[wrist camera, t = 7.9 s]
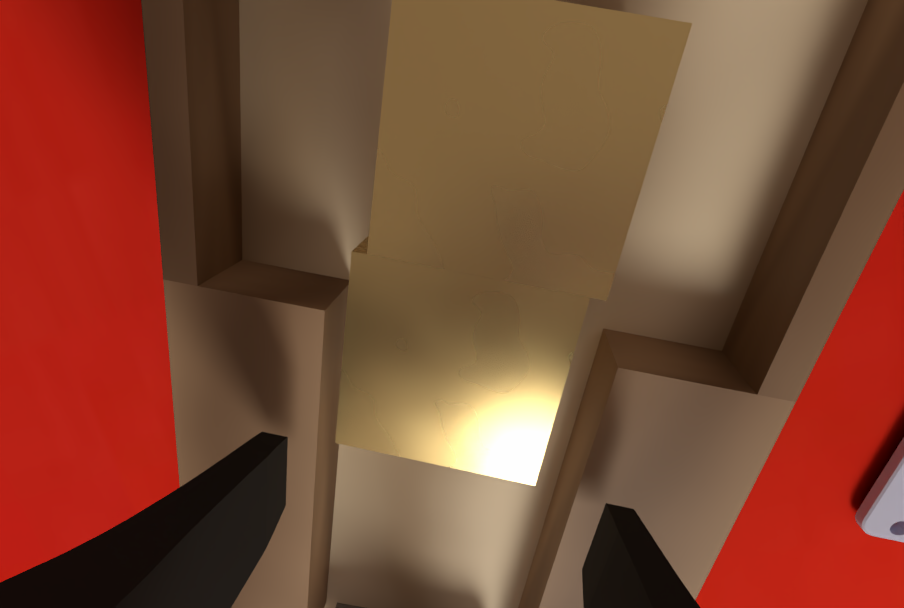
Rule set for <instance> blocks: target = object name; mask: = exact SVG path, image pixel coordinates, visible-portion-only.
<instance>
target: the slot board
mask: <svg viewBox="0 0 904 608" xmlns="http://www.w3.org/2000/svg"><path fill="white" fill-rule="evenodd" d="M556 1H562V2H568V3H574V4H580V5H586V6H592V7H598V8H604V9H610V10H616V11H622V12H628V13H634V14H640V15H646V16H652V17H658V18H664V19H670V20H676V21H682V22H688V23H692V26H691V30H690V33H689V36H688V39H687V42H686V46H685V49H684V52H683V55H682V59H681V62H680V65H679V68H678V72H677V75H676V78H675V81H674V85H673V88H672V91H671V94H670V97H669V101H668V104H667V107H666V110H665V114H664V117H663V120H662V123H661V127H660V130H659V133H658V136H657V140H656V143H655V146H654V149H653V152H652V156H651V159H650V162H649V165H648V169H647V172H646V175H645V178H644V182H643V185H642V188H641V191H640V194H639V198H638V201H637V204H636V207H635V211H634V214H633V217H632V220H631V224H630V227H629V230H628V233H627V237H626V240H625V243H624V246H623V249H622V253H621V256H620V259H619V262H618V266H617V269H616V272H615V275H614V279H613V282H612V285H611V288H610V292H609V295H608V298H607V301H605V300H600V299H595V298H590V301H589V304H588V307H587V311H586V314H585V318H584V321H583V324H582V328H581V331H580V335H579V338H578V341H577V345H576V348H575V352H574V355H573V358H572V362H571V365H570V369H569V372H568V375H567V379H566V382H565V386H564V389H563V392H562V396H561V399H560V403H559V406H558V409H557V413H556V416H555V420H554V423H553V426H552V430H551V433H550V437H549V440H548V443H547V447H546V450H545V454H544V457H543V460H542V464H541V467H540V471H539V474H538V477H537V481H536V484H535V486H534V485H529V484H525V483H520V482H515V481H511V480H506V479H501V478H496V477H492V476H487V475H482V474H478V473H473V472H468V471H464V470H459V469H454V468H450V467H445V466H440V465H436V464H431V463H426V462H422V461H417V460H412V459H408V458H403V457H398V456H394V455H389V454H384V453H379V452H375V451H370V450H365V449H361V448H356V447H351V446H347V445H342V444H337V443H335V439H336V427H337V415H338V404H339V392H340V380H341V368H342V357H343V345H344V333H345V321H346V310H347V298H348V286H349V275H350V263H351V251H352V250H354V249H355V248H356V247H357V246H358V245H359V244H360V243H361V242H362V241H363V240H364V239H365V238H367V237H368V236H369V229H370V219H371V208H372V198H373V188H374V178H375V168H376V158H377V148H378V137H379V127H380V117H381V107H382V97H383V87H384V77H385V66H386V56H387V46H388V36H389V26H390V16H391V5H392V0H141V3H142V15H143V28H144V41H145V53H146V66H147V79H148V91H149V104H150V116H151V129H152V142H153V154H154V167H155V180H156V192H157V205H158V217H159V230H160V243H161V255H162V268H163V281H164V293H165V306H166V318H167V331H168V344H169V356H170V369H171V381H172V394H173V407H174V419H175V432H176V445H177V457H178V470H179V482H180V487H181V486H183V485H184V484H186V483H187V482H189V481H190V480H192V479H193V478H195V477H196V476H198V475H199V474H201V473H202V472H204V471H205V470H207V469H208V468H210V467H211V466H212V465H214V464H215V463H217V462H218V461H220V460H221V459H223V458H224V457H226V456H227V455H228V454H230V453H231V452H233V451H234V450H236V449H237V448H238V447H240V446H241V445H243V444H244V443H246V442H247V441H248V440H250V439H251V438H253V437H254V436H256V435H257V434H259V433H261V432H266V433H271V434H276V435H281V436H286V437H288V448H287V481H286V506H285V508H284V510H283V513H282V515H281V517H280V519H279V522H278V524H277V526H276V529H275V531H274V533H273V535H272V537H271V539H270V541H269V544H268V546H267V548H266V550H265V551H264V553H263V555H262V557H261V558H260V560H259V562H258V563H257V565H256V567H255V568H254V570H253V572H252V574H251V575H250V577H249V579H248V580H247V582H246V584H245V585H244V587H243V589H242V590H241V592H240V594H239V595H238V597H237V599H236V600H235V602H234V604H233V605H232V607H231V608H335V607H336V604H337V602H338V603H343V604H348V605H354V606H359V607H365V608H584V605H583V584H582V568H583V565H584V562H585V559H586V557H587V554H588V551H589V548H590V546H591V543H592V540H593V537H594V535H595V532H596V529H597V526H598V524H599V521H600V518H601V515H602V512H603V510H604V507H605V504H606V503H608V504H613V505H617V506H622V507H627V508H632V509H634V510H635V511H636V513H637V514H638V516H639V517H640V519H641V520H642V522H643V523H644V525H645V526H646V528H647V530H648V531H649V533H650V534H651V536H652V537H653V539H654V540H655V542H656V543H657V545H658V546H659V548H660V549H661V551H662V552H663V554H664V556H665V557H666V559H667V560H668V562H669V563H670V565H671V566H672V568H673V569H674V571H675V572H676V574H677V575H678V576H679V578H680V579H681V581H682V582H683V584H684V585H685V587H686V588H687V590H688V591H689V592H690V594H691V595H692V597H693V598H694V600H695V599H696V598H697V596H698V594H699V592H700V590H701V588H702V586H703V584H704V582H705V580H706V578H707V576H708V574H709V572H710V570H711V568H712V566H713V564H714V562H715V560H716V558H717V556H718V554H719V552H720V550H721V548H722V546H723V544H724V542H725V540H726V538H727V536H728V534H729V532H730V531H731V529H732V527H733V525H734V523H735V521H736V519H737V517H738V515H739V513H740V511H741V509H742V507H743V505H744V503H745V501H746V499H747V497H748V495H749V493H750V491H751V489H752V487H753V485H754V483H755V481H756V479H757V477H758V475H759V473H760V471H761V469H762V467H763V466H764V464H765V462H766V460H767V458H768V456H769V454H770V452H771V450H772V448H773V446H774V444H775V442H776V440H777V438H778V436H779V434H780V432H781V430H782V428H783V426H784V424H785V422H786V420H787V418H788V416H789V414H790V412H791V410H792V408H793V406H794V404H795V402H796V400H797V399H798V397H799V395H800V393H801V391H802V389H803V387H804V385H805V383H806V381H807V379H808V377H809V375H810V373H811V371H812V369H813V367H814V365H815V363H816V361H817V359H818V357H819V355H820V353H821V351H822V349H823V347H824V345H825V343H826V341H827V339H828V337H829V335H830V333H831V332H832V330H833V328H834V326H835V324H836V322H837V320H838V318H839V316H840V314H841V312H842V310H843V308H844V306H845V304H846V302H847V300H848V298H849V296H850V294H851V292H852V290H853V288H854V286H855V284H856V282H857V280H858V278H859V276H860V274H861V272H862V270H863V268H864V267H865V265H866V263H867V261H868V259H869V257H870V255H871V253H872V251H873V249H874V247H875V245H876V243H877V241H878V239H879V237H880V235H881V233H882V231H883V229H884V227H885V225H886V223H887V221H888V219H889V217H890V215H891V213H892V211H893V209H894V207H895V205H896V203H897V201H898V200H899V198H900V196H901V194H902V192H903V190H904V0H556Z"/></svg>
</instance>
